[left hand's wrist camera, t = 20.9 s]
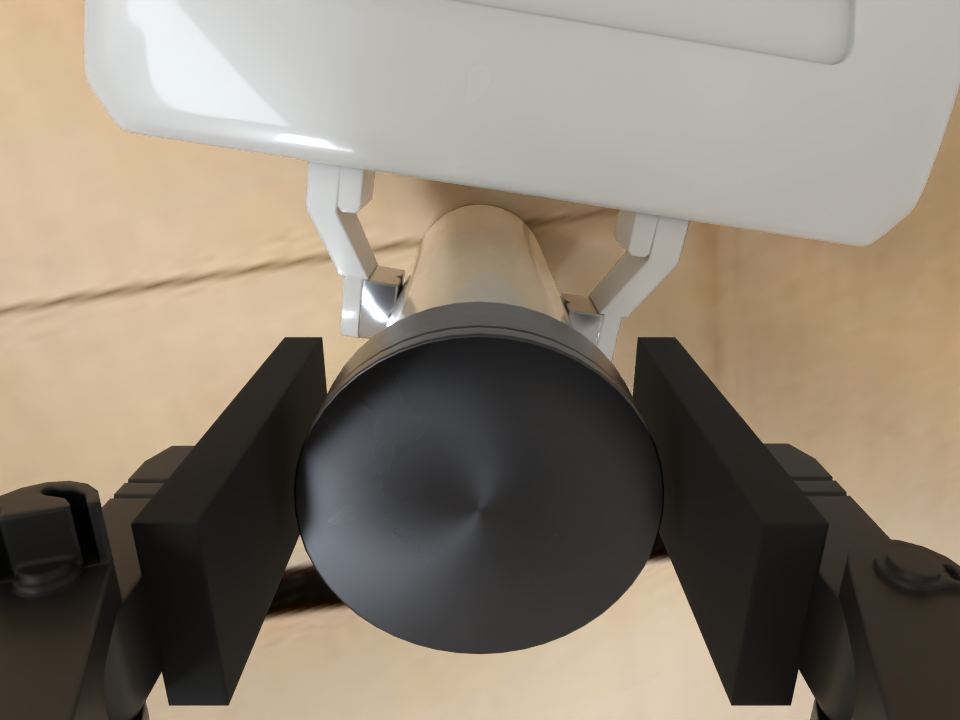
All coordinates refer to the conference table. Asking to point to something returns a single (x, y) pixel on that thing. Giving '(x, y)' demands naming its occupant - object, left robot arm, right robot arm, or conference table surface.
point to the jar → (479, 265)
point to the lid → (479, 480)
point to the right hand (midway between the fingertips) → (476, 349)
